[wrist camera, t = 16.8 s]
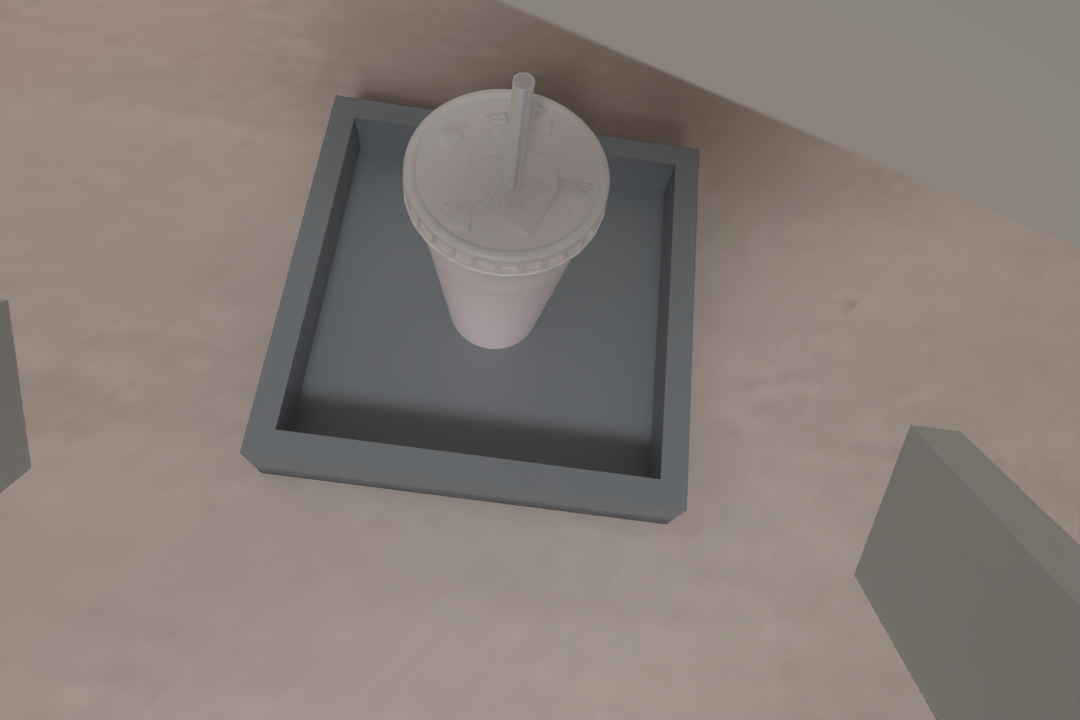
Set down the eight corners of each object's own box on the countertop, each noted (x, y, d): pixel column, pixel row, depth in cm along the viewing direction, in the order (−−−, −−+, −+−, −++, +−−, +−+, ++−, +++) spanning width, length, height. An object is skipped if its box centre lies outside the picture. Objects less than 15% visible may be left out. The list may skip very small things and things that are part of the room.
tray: (680, 189, 36) (698, 149, 33) (666, 523, 30) (686, 509, 27) (345, 139, 35) (335, 95, 33) (261, 472, 29) (240, 452, 26)
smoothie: (433, 394, 30) (415, 191, 17) (403, 255, 32) (366, -18, 19) (587, 362, 31) (678, 149, 18) (547, 230, 33) (604, -43, 20)
